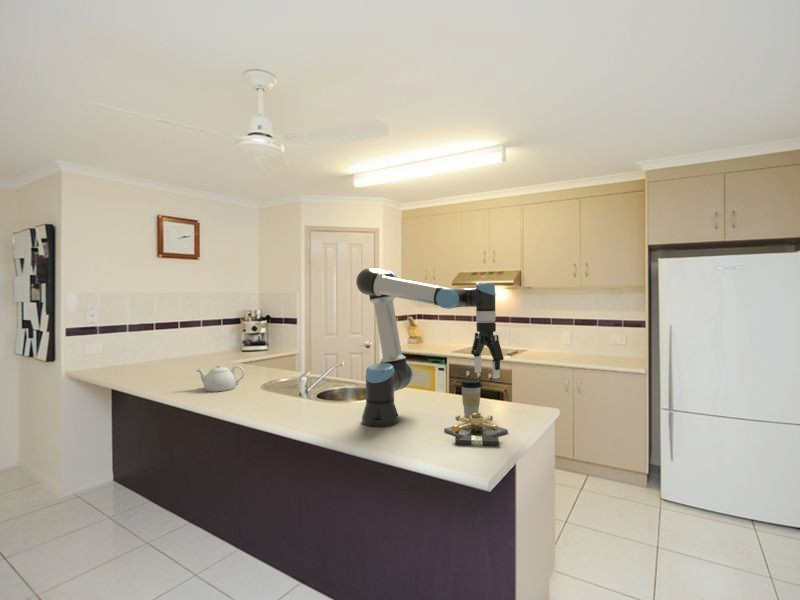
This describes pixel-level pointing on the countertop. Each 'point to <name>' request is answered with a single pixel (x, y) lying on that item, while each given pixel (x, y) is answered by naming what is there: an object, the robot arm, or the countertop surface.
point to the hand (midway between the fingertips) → (486, 375)
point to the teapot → (220, 378)
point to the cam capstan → (474, 423)
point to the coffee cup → (470, 395)
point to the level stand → (477, 436)
